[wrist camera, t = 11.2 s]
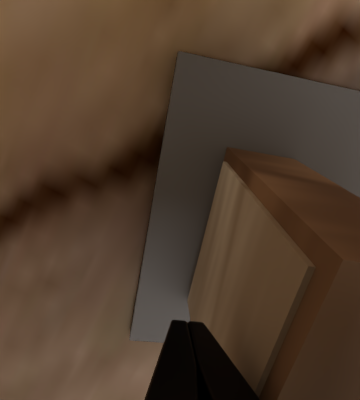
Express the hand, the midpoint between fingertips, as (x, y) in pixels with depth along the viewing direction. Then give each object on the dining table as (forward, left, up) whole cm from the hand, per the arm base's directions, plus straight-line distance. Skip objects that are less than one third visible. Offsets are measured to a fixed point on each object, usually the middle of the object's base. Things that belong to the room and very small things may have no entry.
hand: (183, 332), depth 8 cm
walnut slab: (+3, 0, -6) cm, 7 cm away
